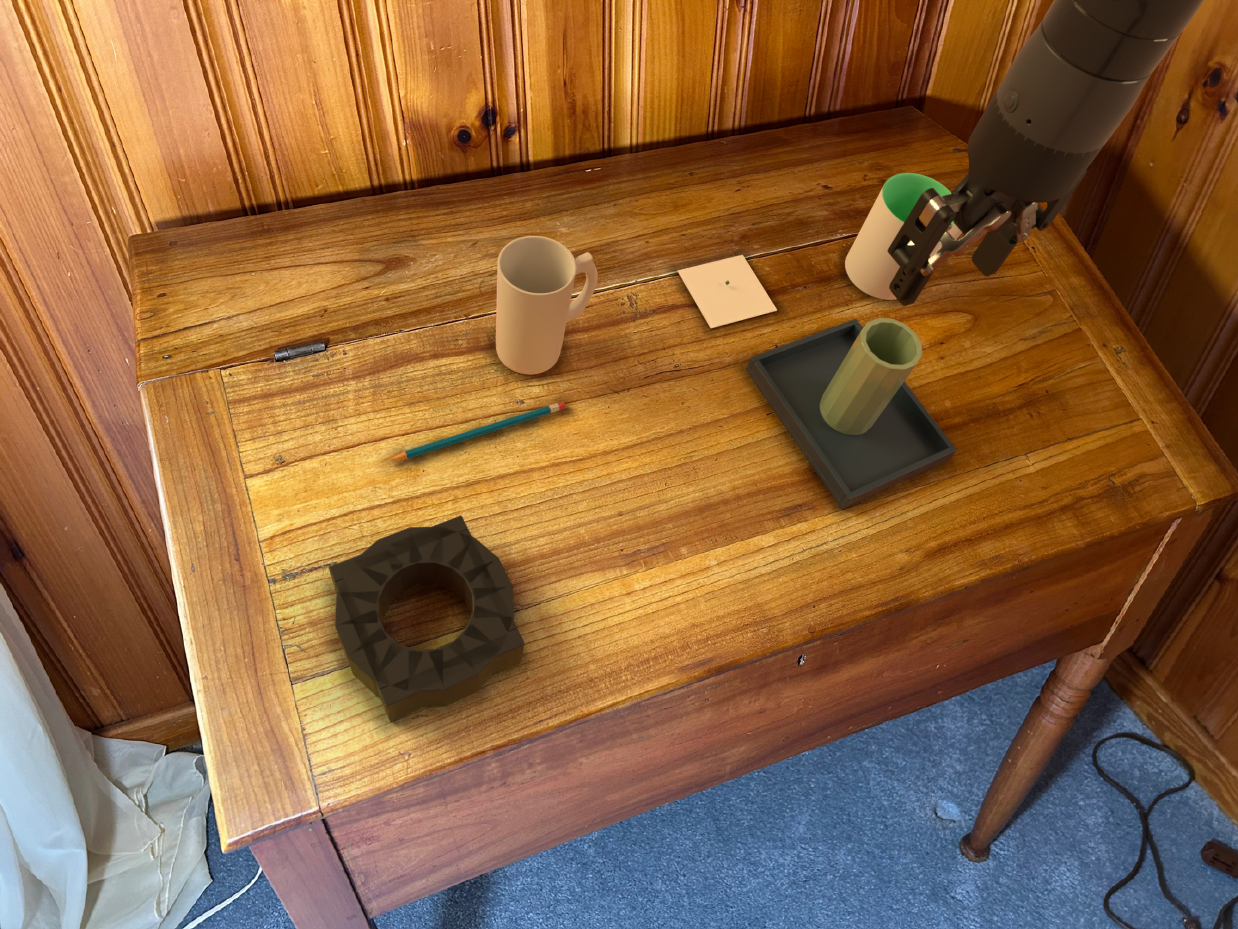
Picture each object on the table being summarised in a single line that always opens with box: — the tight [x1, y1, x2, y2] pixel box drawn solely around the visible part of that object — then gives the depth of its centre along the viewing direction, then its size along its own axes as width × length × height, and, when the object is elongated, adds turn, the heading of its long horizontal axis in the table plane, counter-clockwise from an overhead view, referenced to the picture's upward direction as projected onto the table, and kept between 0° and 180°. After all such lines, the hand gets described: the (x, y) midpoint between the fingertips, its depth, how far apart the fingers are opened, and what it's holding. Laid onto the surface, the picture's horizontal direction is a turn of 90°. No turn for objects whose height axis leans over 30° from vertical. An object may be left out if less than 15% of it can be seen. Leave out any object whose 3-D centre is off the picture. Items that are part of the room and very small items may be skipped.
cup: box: [820, 317, 923, 435], centre depth 86 cm, size 6×6×11 cm
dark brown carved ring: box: [328, 515, 525, 723], centre depth 72 cm, size 13×13×4 cm
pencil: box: [387, 400, 567, 462], centre depth 83 cm, size 1×17×1 cm, turn 116°
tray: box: [745, 318, 958, 510], centre depth 90 cm, size 17×13×2 cm
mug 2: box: [844, 172, 963, 301], centre depth 98 cm, size 12×8×10 cm
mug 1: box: [495, 235, 599, 375], centre depth 85 cm, size 10×7×12 cm, turn 121°
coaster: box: [677, 254, 778, 329], centre depth 97 cm, size 8×8×1 cm
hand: (941, 282), depth 72 cm, fingers open, 8 cm apart
